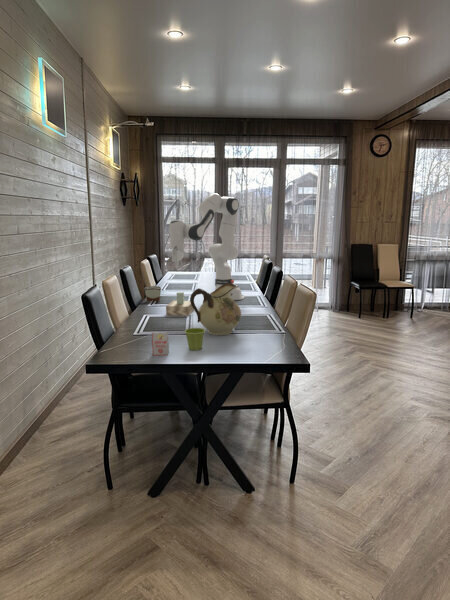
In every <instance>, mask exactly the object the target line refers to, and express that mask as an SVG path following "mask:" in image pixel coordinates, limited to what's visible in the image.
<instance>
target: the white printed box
mask: <svg viewBox="0 0 450 600" xmlns="http://www.w3.org/2000/svg"><path fill="white" fill-rule="evenodd" d="M169 344H170V343H169V333H168V332H152V337H151V348H152V350H151V352H152V356H155V357H156V356H159V357H160V356H169V354H170V350H169V349H170V348H169V347H170V345H169Z"/></svg>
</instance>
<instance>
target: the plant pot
mask: <svg viewBox="0 0 450 600" xmlns="http://www.w3.org/2000/svg"><path fill="white" fill-rule="evenodd" d="M205 332H206V329H205V328H200V327H192V328H187V329H185V330H184V333H185V336H186V340H187V345H188V350H190V351H198V350H199V351H200V350H202V349H203V342H204V335H205Z"/></svg>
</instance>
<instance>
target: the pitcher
mask: <svg viewBox="0 0 450 600" xmlns="http://www.w3.org/2000/svg"><path fill="white" fill-rule="evenodd" d="M238 287H239V288H240V286H239V285H237V284H235V283H233V284H232V283H226V284H223V285H221V286H220V287H219V288H218V289H216V290H215V289H214V291H211V292H207V291H206V290H204V289H203V288H198V287H197V288H196V289H195V290H194V291H193V292H192V293H191V294H190V298H189V301H190V302H191V305H192V307H193V309H194V310H193V311H194V312H195V313H196V316H197V323H200V324H201V325H202V326H203V327H204V329H205V330H207V331H208V333H209V334H210V335H214V336H226V335H230V334H232V332H233V330H234V329H235V328H236V327H237V326H238V324H239V323H240V321H241V318H242V309H241V307H240V306H239V305H238V304H239V303H237V302H236V300H233V299H232V298H231V292H232V291H233V290H234V289H236V288H238ZM198 295H202V296H203V300H202V304H201V305H200V307H199V309H198V307H197V305H196V303H195V298H196V296H198Z"/></svg>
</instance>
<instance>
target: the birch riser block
mask: <svg viewBox="0 0 450 600" xmlns="http://www.w3.org/2000/svg"><path fill="white" fill-rule="evenodd" d="M194 311H195V310H194V309H193V307H192V305H191V302H190V300H184V304H177V300H171V302H169V303H168V304H167V305H166V306H165V313H166V316H184V315H185V317H186V316H187V317H188V316H190V315H191V313H193V312H194Z"/></svg>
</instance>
